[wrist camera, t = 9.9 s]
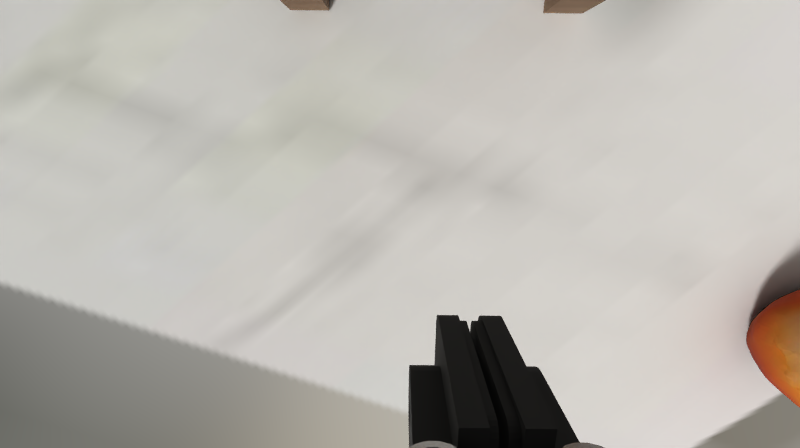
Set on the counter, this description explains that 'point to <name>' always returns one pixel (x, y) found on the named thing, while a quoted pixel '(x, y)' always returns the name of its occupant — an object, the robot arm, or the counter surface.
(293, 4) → the bridge
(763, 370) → the fruit
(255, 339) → the counter surface
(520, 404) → the robot arm
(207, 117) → the counter surface
